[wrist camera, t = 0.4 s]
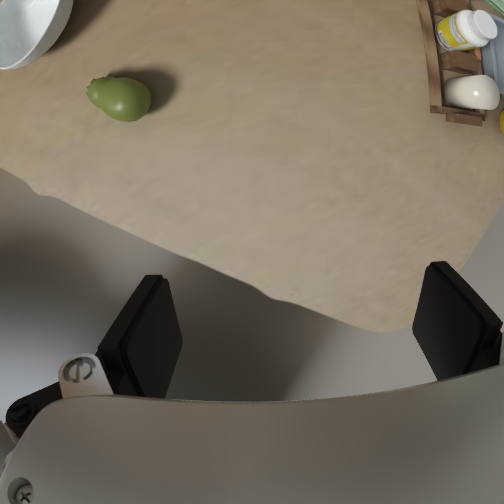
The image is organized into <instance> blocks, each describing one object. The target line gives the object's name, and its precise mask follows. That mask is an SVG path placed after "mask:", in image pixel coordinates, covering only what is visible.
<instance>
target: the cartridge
mask: <svg viewBox="0 0 504 504" xmlns="http://www.w3.org/2000/svg"><path fill="white" fill-rule="evenodd" d="M443 93H444V97H445V99H446V101H447V102H448V103H449V104H450V105H451V106H453V107H455V108H472V109H487V110H493V109H495V108H496V107H497V106H498V104H499V100H500V94H499V90H498V87H497V85H496V83H495V81H494V80H493V79H492V78H491V77H489V76H487V75H475V76H465V77H456V78H449V79H447V80H446V81H445V83H444V85H443Z"/></svg>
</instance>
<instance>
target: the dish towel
mask: <svg viewBox="0 0 504 504" xmlns="http://www.w3.org/2000/svg"><path fill="white" fill-rule="evenodd" d="M485 1H486V2H487V3H489V4H490V5H491V6H492V7H494V8H495V9H496V10H497V11H498V12H500V13H501V14H502V15H503V16H504V0H485Z"/></svg>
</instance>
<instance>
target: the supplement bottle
mask: <svg viewBox="0 0 504 504" xmlns="http://www.w3.org/2000/svg"><path fill="white" fill-rule="evenodd" d="M435 35H436V38H437V40H438V42H439V43H440V44H441V46H442V47H443V48H445V49H446V50H448V51H453V50H457V51H461V52H463V51H467V50H471V49H475V48H480V47H483V46H485V45H487V43H488V42H489V40H490V39H494V38H495V37H496V36H497V26H496V24H495V22H494V20H493V19H492V17H491V16H490V15H489V14H488V13H486V12H485V11H483V10H476V11H471V10H462V11H459V12H457V13H455V14H453V15H451V16H448V17H446V18H444V19H442V20H440V21H439V22H437V24H436V25H435Z"/></svg>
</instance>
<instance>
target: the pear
mask: <svg viewBox="0 0 504 504" xmlns="http://www.w3.org/2000/svg"><path fill="white" fill-rule="evenodd" d="M86 94H87V96H88V97H89V99H90V100H91V102H92V103H93V104H94V105H96V106H97V107H99V108H102V110H103V111H104V112H105V113H106V114H107V115H108V116H110V117H111V118H114V119H116V120H120V121H127V122H130V121H136V120H138V119H140V118H141V117H143V116H144V115H145V114H146V112H147V111H148V109H149V107H150V104H151V93H150V91H149V89H148V88H147V87H146V86H145V85H144V84H142V83H140V82H138V81H136V80H134V79H130V78H125V77H122V78H115V77H113V76H110V77H102V78H98V79H93V80H92V81H91V83H90V86H88V87H87V91H86Z"/></svg>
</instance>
